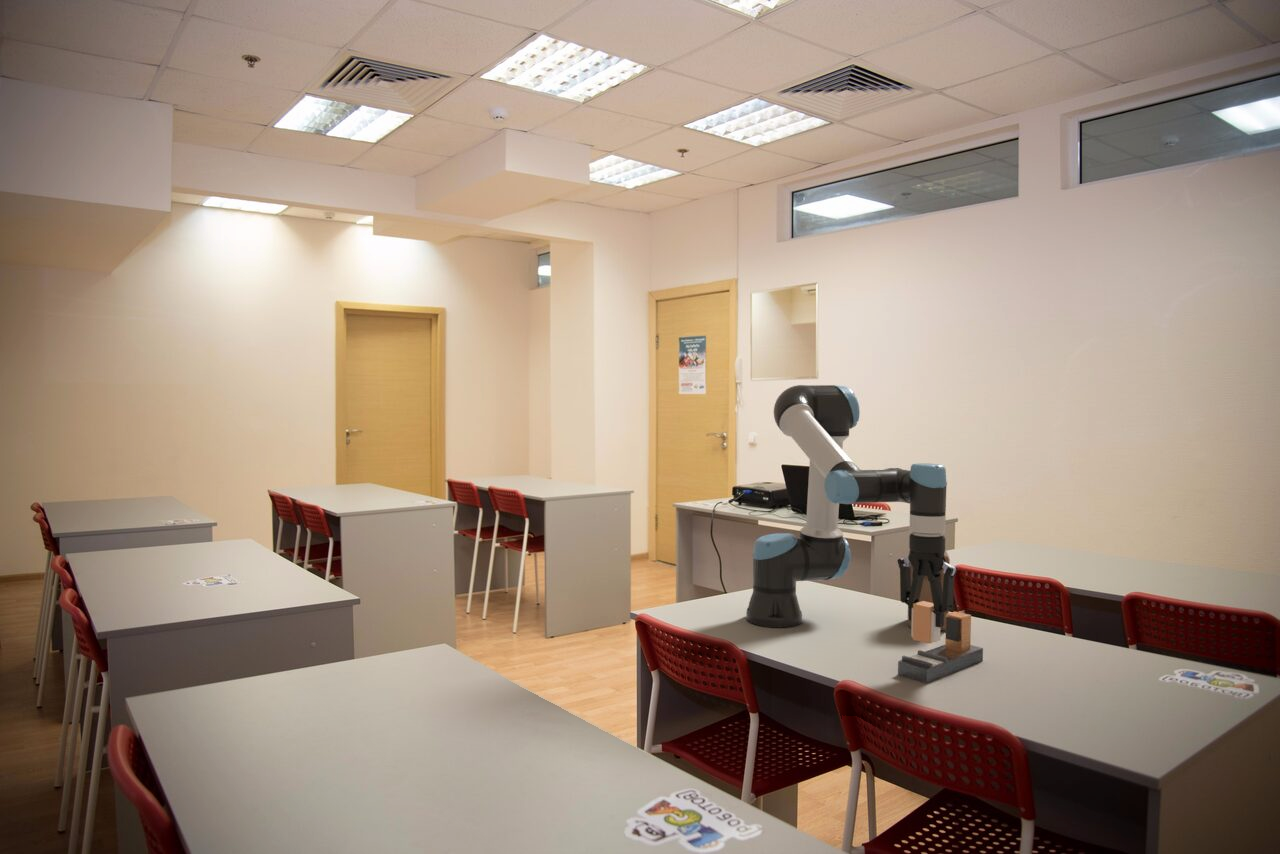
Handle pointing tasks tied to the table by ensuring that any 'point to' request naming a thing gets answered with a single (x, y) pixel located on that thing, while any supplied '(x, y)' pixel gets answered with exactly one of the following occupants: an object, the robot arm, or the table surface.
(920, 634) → the tall peach prism
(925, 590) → the wooden block
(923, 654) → the rail
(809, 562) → the robot arm
